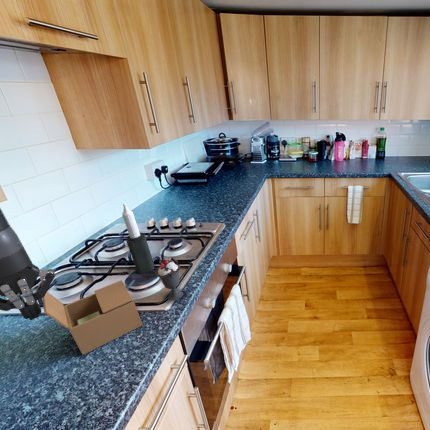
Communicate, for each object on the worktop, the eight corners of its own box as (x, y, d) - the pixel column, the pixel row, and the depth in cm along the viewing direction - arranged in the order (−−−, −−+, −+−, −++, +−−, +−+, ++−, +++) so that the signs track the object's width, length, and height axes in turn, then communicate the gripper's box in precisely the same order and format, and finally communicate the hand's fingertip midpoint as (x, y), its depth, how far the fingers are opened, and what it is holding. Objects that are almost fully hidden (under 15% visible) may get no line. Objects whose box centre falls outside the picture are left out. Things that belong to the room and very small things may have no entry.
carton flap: (68, 327, 65) (66, 328, 64) (63, 303, 72) (61, 304, 71) (46, 311, 61) (44, 312, 61) (42, 287, 68) (40, 289, 68)
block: (86, 343, 71) (79, 330, 69) (83, 333, 74) (77, 320, 72) (108, 332, 74) (102, 319, 72) (104, 323, 77) (98, 310, 75)
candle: (154, 270, 99) (133, 204, 88) (137, 275, 97) (113, 208, 86) (154, 263, 103) (133, 199, 92) (138, 267, 101) (115, 202, 90)
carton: (83, 356, 68) (67, 327, 64) (76, 330, 76) (62, 303, 72) (143, 325, 77) (132, 299, 73) (131, 305, 84) (121, 279, 80)
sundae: (166, 307, 83) (152, 265, 76) (161, 295, 88) (148, 253, 81) (190, 298, 86) (178, 256, 80) (184, 286, 91) (173, 246, 85)
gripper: (39, 233, 63) (70, 294, 71) (-53, 257, 55) (-8, 323, 62) (41, 245, 58) (74, 310, 66) (-60, 273, 50) (-9, 344, 57)
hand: (34, 316), depth 64 cm, fingers closed
